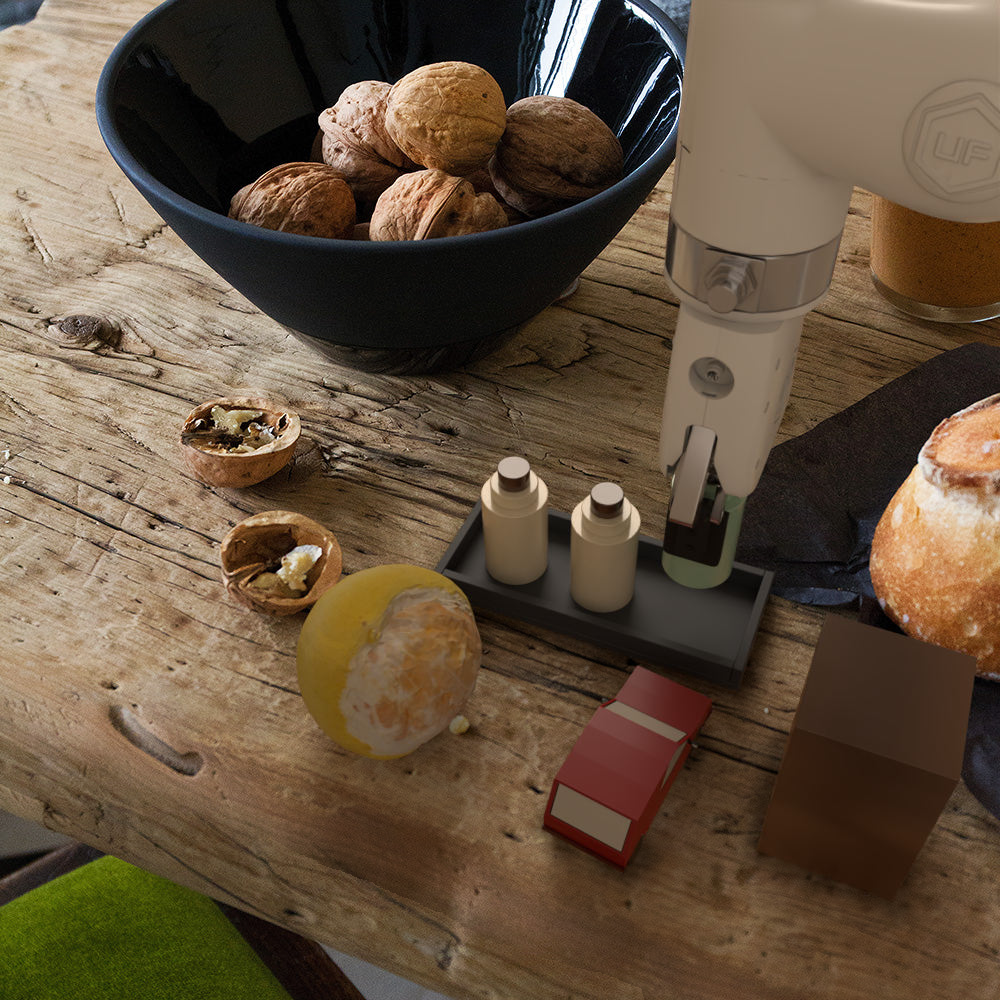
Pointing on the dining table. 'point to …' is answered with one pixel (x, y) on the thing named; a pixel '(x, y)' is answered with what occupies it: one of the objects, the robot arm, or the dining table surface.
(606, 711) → the toy truck
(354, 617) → the fruit
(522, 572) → the bottle far
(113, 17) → the dining table surface
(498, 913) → the dining table surface
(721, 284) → the robot arm
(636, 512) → the bottle mid
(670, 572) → the bottle celadon
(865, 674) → the stand
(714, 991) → the dining table surface
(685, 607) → the tray
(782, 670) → the dining table surface
